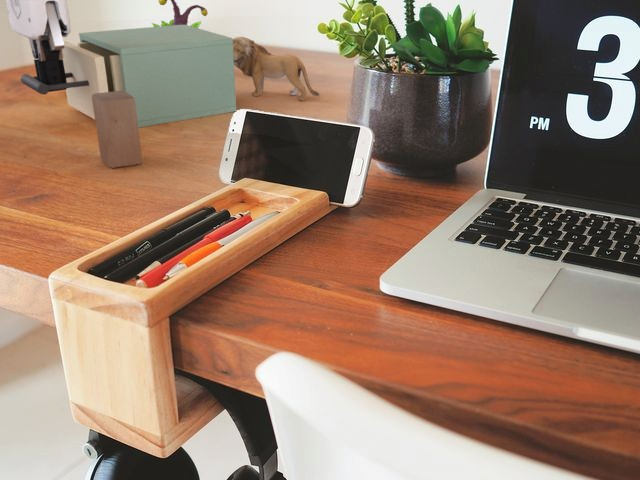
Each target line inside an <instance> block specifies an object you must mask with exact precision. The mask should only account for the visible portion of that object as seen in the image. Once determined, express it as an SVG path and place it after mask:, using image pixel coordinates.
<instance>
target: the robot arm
mask: <svg viewBox="0 0 640 480" xmlns="http://www.w3.org/2000/svg"><path fill="white" fill-rule="evenodd" d="M5 2H6V3H5V4H6V8H7V16H8V22H9V26H10V28H11V30H12V31H13V32H15V33H16V34H19V35H20V36H22V37H25V38H27V39H28V41H29V45H30V48H31V55H32V57H33V62H34V67H35V74H36V76H37V79H38V80H39V81H41V82H43V83H44V84H46V85H52V84H60V83H67V81H66V75H65V69H64V63H63V53H62V49H64V42H65V41H64V38H67V37H68V36H69V35H70V33H71V30H72V29H71V20H70V13H69V6H68V1H67V0H5ZM66 89H67V88H65V89H56V90H49V91H48V93H52V92H58V91H59V92H60V91H66Z"/></svg>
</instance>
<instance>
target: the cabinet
mask: <svg viewBox="0 0 640 480" xmlns="http://www.w3.org/2000/svg"><path fill="white" fill-rule="evenodd" d="M160 26H161V25H160ZM78 37H79V43H82V42H90V43H92V44H95V45H97V46H100V47H102V48H105V49H108V50H110V51H113V52H115V53H118V54H119V56H120V64H121V72H122V80H123V88H124V91H126V92H127V93H128V94H130V95H131V96H133V97H134V99H135V104H136V112H137V120H138V129H139V128H145V127H150V126H156V125H163V124H168V123H175V122H181V121H187V120H193V119H198V118H205V117H211V116H217V115H224V114H230V113H235V112H234V111H235V110H237V95H236V94H237V93H236V78H235V77H236V76H235V74H236V73H235V65H234V57H233V39H234V38H233V37H230V36H225V35H223V34H219V33H216V32H212V31H209V30H205V29H202V28H199V27H198V28H195V27H191V25H188V24H187V25H173V26H161V27H154V26H150V27H149V26H147V27H136V28H123V29H113V30H111V29H110V30H99V31H88V32H87V31H86V32H79V33H78ZM229 112H230V113H229Z"/></svg>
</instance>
